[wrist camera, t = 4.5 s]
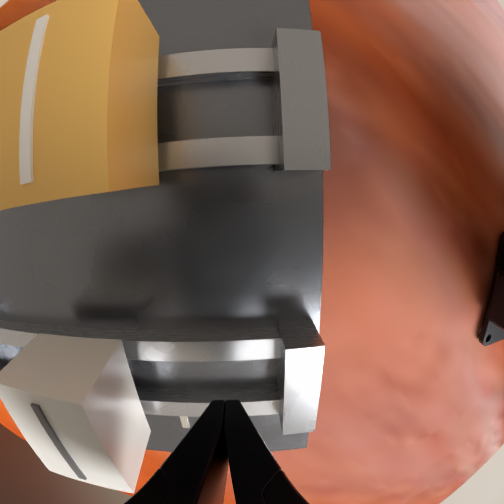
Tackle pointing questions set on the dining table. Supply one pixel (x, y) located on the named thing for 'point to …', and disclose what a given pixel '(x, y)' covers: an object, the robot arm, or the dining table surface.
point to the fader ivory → (78, 408)
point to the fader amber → (78, 101)
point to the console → (199, 230)
